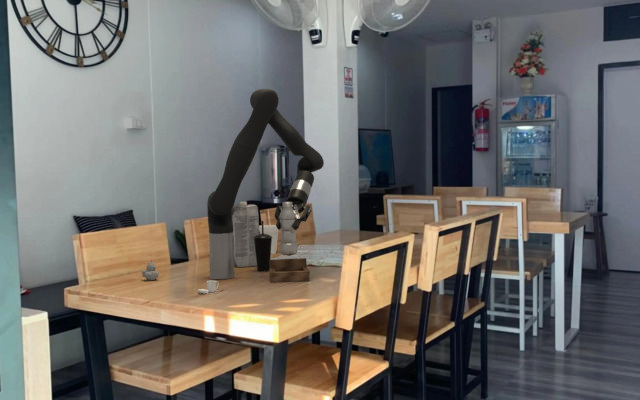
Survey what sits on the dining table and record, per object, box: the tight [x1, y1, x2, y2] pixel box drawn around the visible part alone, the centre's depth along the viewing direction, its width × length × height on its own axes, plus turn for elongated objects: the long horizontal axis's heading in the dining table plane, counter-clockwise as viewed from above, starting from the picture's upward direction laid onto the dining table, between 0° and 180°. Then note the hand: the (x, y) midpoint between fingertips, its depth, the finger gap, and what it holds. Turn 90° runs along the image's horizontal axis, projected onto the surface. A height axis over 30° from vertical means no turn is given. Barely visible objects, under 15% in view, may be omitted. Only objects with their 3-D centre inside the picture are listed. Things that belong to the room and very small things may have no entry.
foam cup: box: [259, 224, 280, 255], centre depth 304 cm, size 10×9×13 cm
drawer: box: [269, 257, 310, 284], centre depth 239 cm, size 14×12×7 cm
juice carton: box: [232, 201, 260, 268], centre depth 269 cm, size 9×10×27 cm
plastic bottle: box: [279, 201, 299, 257], centre depth 238 cm, size 6×7×20 cm
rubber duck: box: [140, 259, 160, 281], centre depth 241 cm, size 5×7×8 cm
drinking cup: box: [253, 220, 272, 272], centre depth 257 cm, size 8×8×20 cm
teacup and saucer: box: [197, 279, 220, 295], centre depth 218 cm, size 9×8×4 cm
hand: (286, 228), depth 236 cm, fingers closed on plastic bottle, 6 cm apart
